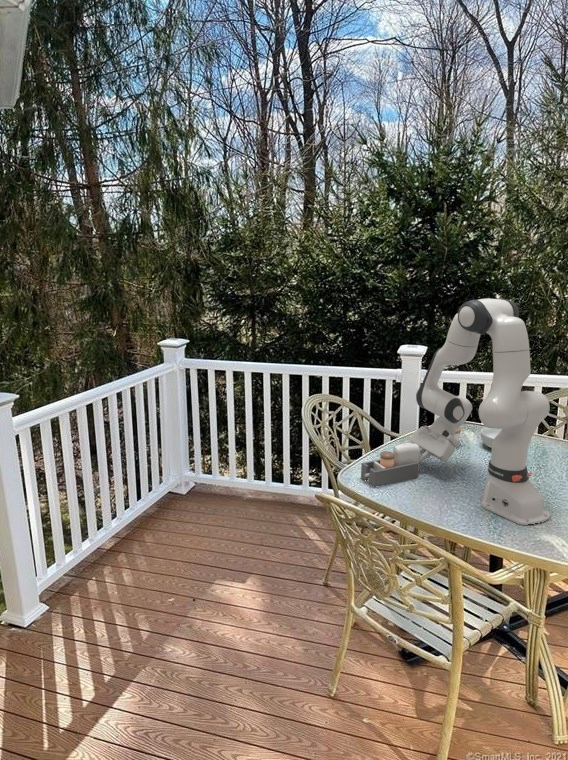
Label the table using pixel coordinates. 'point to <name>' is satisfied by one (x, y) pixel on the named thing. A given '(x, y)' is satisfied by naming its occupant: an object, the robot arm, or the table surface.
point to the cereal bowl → (489, 435)
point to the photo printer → (406, 454)
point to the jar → (387, 459)
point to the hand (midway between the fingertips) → (418, 460)
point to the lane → (388, 473)
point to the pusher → (376, 468)
